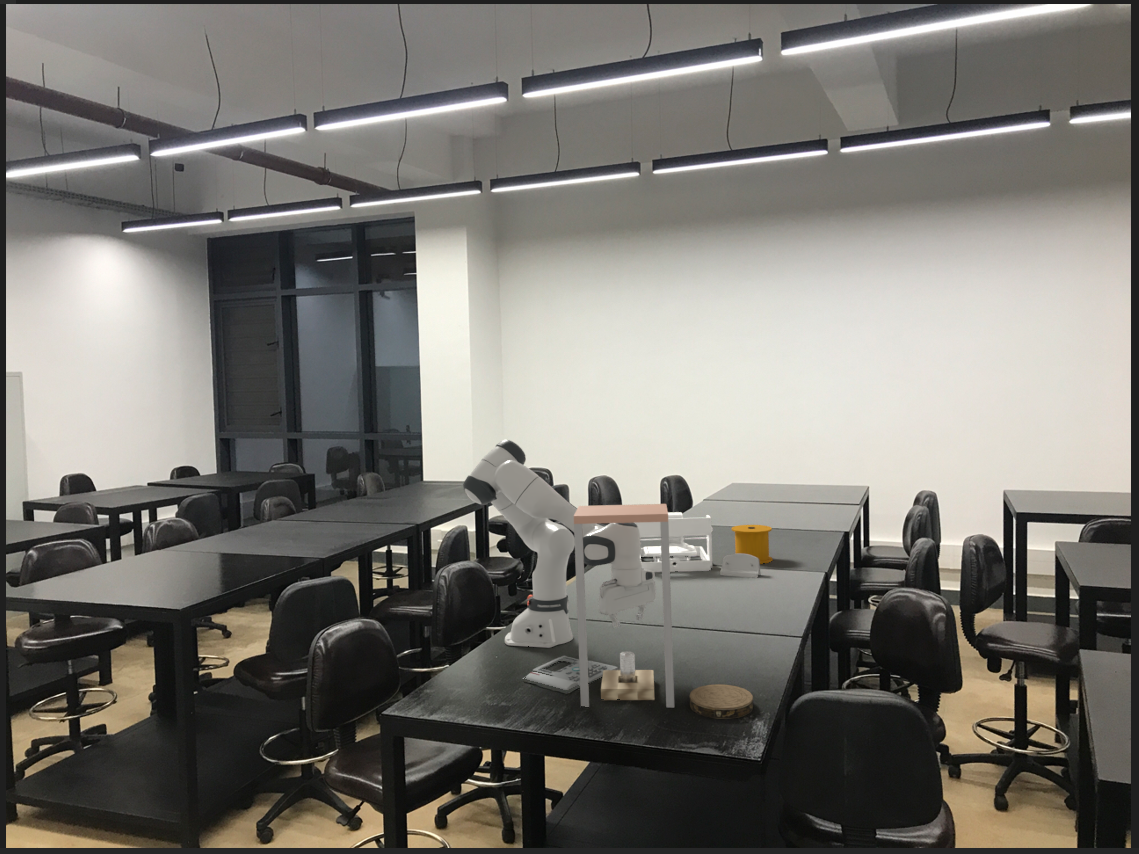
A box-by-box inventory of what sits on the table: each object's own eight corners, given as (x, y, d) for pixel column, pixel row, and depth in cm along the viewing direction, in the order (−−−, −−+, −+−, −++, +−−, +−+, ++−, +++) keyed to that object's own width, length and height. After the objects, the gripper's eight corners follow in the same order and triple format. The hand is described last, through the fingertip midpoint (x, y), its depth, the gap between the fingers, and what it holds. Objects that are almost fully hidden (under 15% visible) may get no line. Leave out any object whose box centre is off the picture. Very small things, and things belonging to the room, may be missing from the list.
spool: (724, 559, 378) (723, 526, 377) (755, 554, 385) (755, 522, 384) (748, 566, 361) (747, 532, 361) (780, 561, 369) (780, 528, 368)
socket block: (601, 700, 216) (600, 688, 216) (603, 680, 230) (603, 670, 230) (654, 699, 215) (654, 688, 214) (653, 680, 228) (653, 669, 228)
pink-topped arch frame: (581, 707, 211) (573, 516, 209) (585, 683, 228) (578, 505, 225) (674, 707, 209) (668, 513, 206) (671, 683, 226) (666, 503, 223)
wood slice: (764, 704, 210) (764, 693, 209) (732, 725, 198) (732, 713, 198) (711, 690, 220) (710, 679, 220) (677, 709, 208) (677, 698, 208)
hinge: (719, 575, 347) (720, 551, 350) (722, 576, 351) (723, 553, 354) (758, 577, 340) (759, 553, 342) (760, 579, 344) (762, 555, 346)
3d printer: (708, 555, 388) (704, 502, 386) (717, 570, 356) (713, 513, 355) (634, 560, 389) (630, 508, 388) (637, 576, 358) (632, 519, 356)
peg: (620, 692, 220) (619, 656, 220) (621, 687, 224) (619, 651, 224) (635, 692, 220) (634, 656, 219) (635, 687, 224) (634, 651, 223)
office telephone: (567, 688, 220) (513, 673, 233) (567, 697, 220) (513, 682, 233) (617, 662, 238) (565, 649, 251) (618, 671, 238) (565, 658, 251)
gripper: (607, 584, 226) (609, 634, 227) (658, 571, 239) (660, 618, 240) (592, 581, 231) (594, 629, 231) (643, 568, 244) (644, 613, 245)
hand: (628, 623), depth 236 cm, fingers open, 8 cm apart
